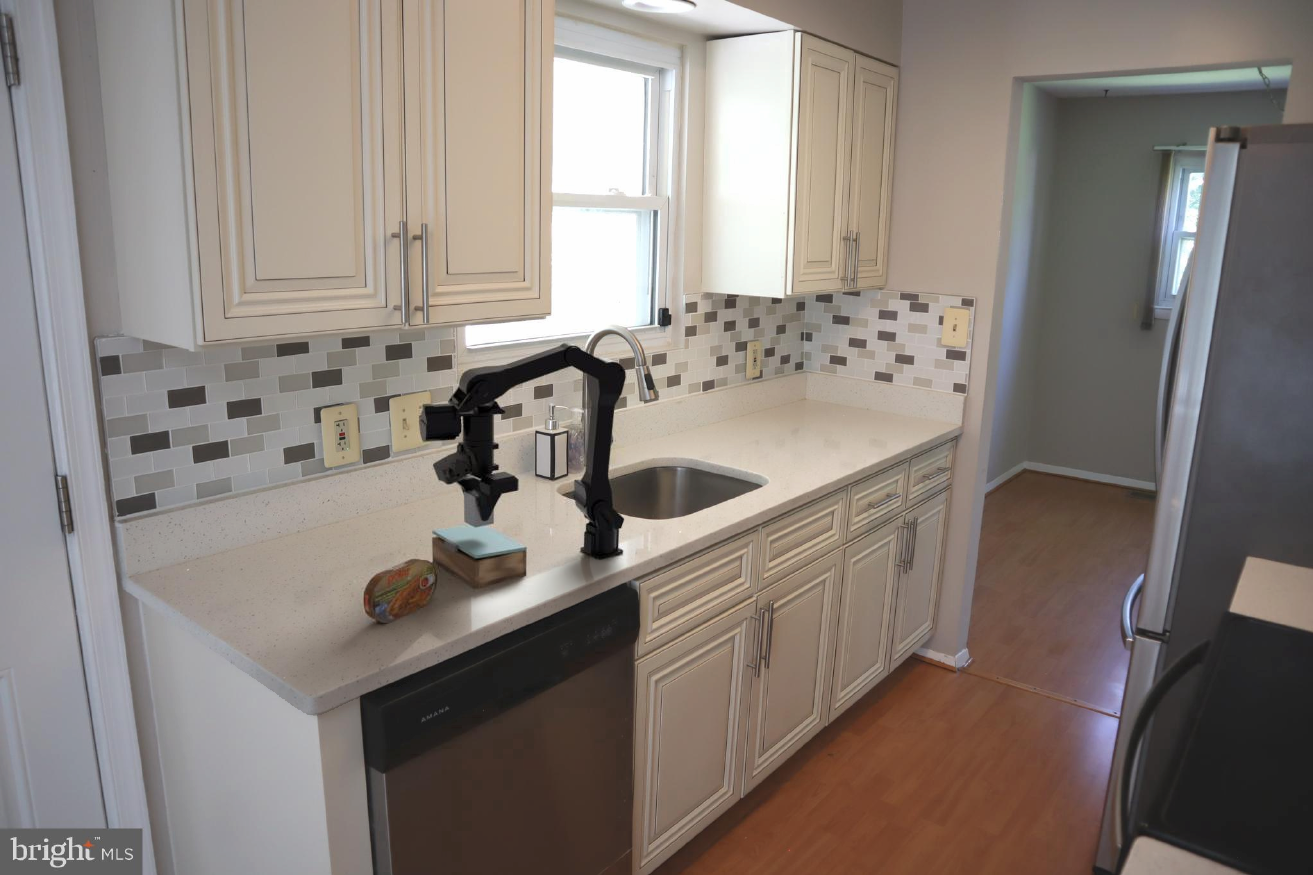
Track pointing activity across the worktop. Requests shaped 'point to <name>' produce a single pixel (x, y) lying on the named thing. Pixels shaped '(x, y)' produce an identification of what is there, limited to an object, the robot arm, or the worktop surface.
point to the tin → (400, 590)
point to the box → (479, 565)
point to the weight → (474, 510)
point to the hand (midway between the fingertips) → (479, 517)
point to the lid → (477, 541)
